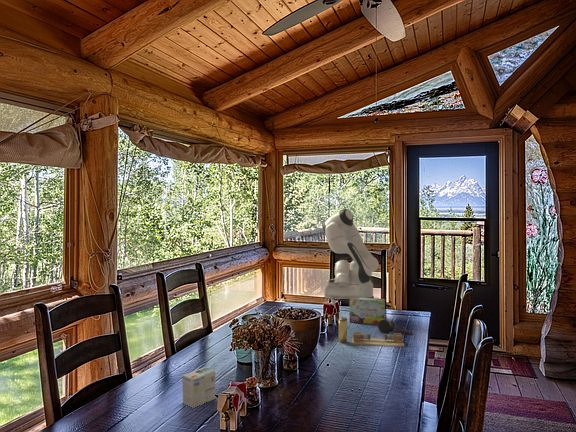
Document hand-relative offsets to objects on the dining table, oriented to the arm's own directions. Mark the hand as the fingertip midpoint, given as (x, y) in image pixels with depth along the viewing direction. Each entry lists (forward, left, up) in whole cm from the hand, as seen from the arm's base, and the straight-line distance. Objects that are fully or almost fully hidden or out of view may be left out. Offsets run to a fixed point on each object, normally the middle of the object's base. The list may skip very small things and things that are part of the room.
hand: (342, 304), depth 240 cm
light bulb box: (+88, -53, -17) cm, 104 cm away
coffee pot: (-7, +30, -17) cm, 35 cm away
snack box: (-27, +15, -17) cm, 35 cm away
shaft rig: (+12, +18, -17) cm, 28 cm away
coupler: (+12, 0, -17) cm, 21 cm away
